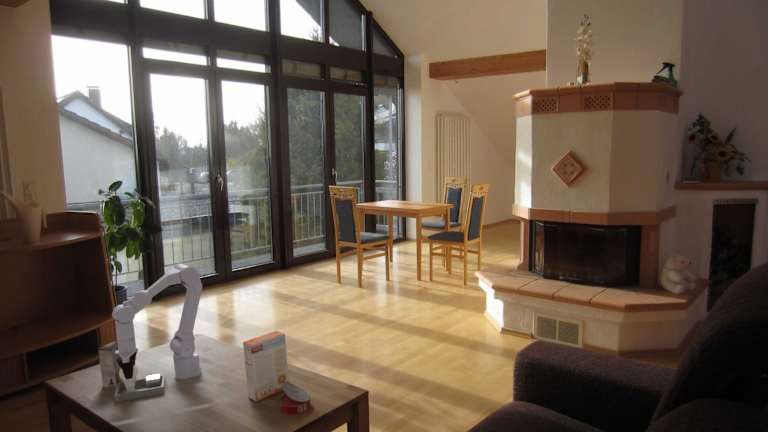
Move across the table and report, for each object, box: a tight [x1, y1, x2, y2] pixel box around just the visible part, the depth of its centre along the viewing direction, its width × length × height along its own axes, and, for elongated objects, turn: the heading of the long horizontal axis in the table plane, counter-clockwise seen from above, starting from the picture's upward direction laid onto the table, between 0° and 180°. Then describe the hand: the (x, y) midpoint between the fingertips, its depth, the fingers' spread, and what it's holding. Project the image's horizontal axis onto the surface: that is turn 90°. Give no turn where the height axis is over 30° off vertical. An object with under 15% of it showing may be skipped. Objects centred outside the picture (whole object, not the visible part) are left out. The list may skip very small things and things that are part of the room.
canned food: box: [279, 381, 311, 415], centre depth 176 cm, size 11×10×10 cm
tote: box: [113, 374, 166, 403], centre depth 190 cm, size 16×11×4 cm
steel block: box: [145, 373, 161, 389], centre depth 192 cm, size 4×4×4 cm
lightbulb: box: [119, 364, 139, 392], centre depth 188 cm, size 6×6×11 cm
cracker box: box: [242, 330, 290, 403], centre depth 186 cm, size 14×6×21 cm, turn 135°
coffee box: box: [97, 339, 124, 389], centre depth 198 cm, size 9×6×16 cm
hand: (130, 374), depth 188 cm, fingers open, 7 cm apart
